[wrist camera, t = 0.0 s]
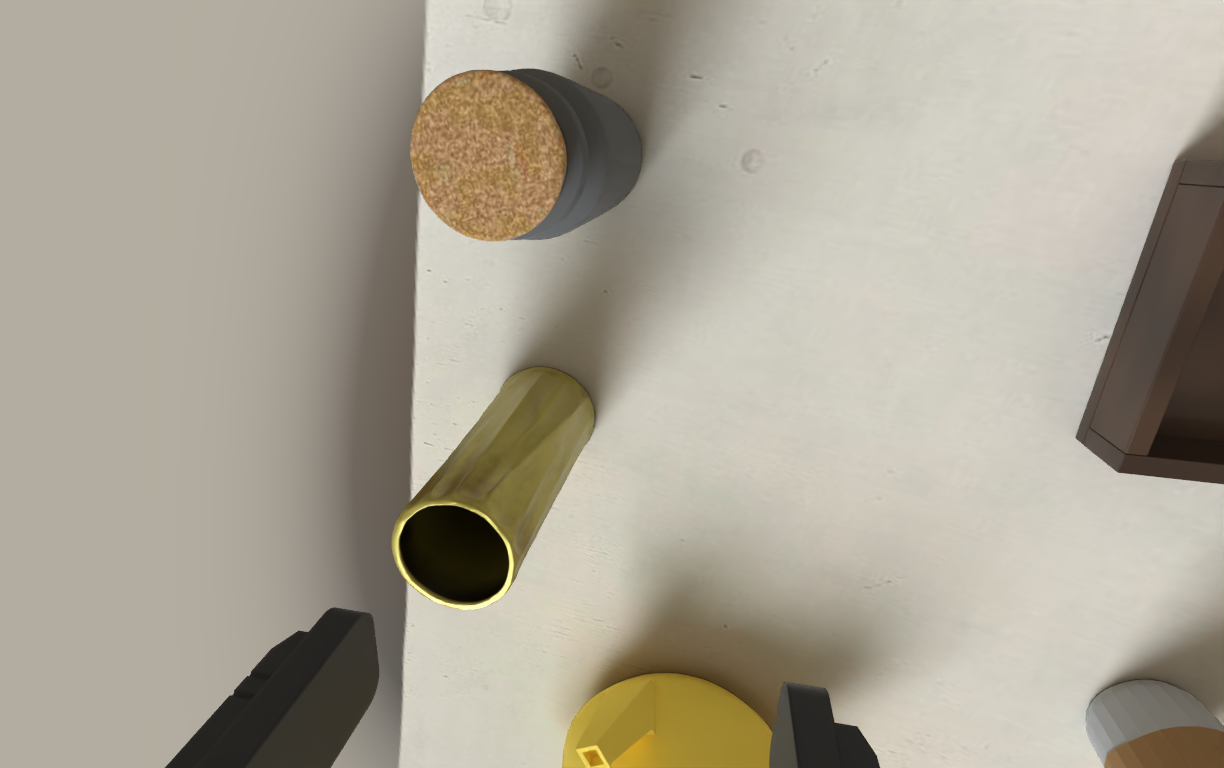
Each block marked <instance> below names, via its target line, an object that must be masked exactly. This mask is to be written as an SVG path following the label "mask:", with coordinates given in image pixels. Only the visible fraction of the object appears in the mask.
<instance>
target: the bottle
mask: <svg viewBox="0 0 1224 768" xmlns="http://www.w3.org/2000/svg"><path fill="white" fill-rule="evenodd" d="M410 150H411V162H412V168H413V174H414V177H415V180H416V183H417V185H418V187H419V190H420V192H421V194H422V196H423V198H424V200H425V201H426V203H427V204H428V206H429V207H430V208H431V209H432V210H433V212H434V213H435V214H436V215H437V216H438V217H439V218H440V219H441V220H442V221H443V222H444V223H446V224H447V225H448V226H449V227H451V228H452V229H454V230H455V231H457V232H459V233H461V234H463V235H465V236H468V237H471V238H474V239H478V240H484V241H506V240H521V239H529V240H541V239H550V238H553V237H557V236H560V235H563V234H565V233H567V232H570V231H572V230H574V229H576V228H578V227H579V226H581V225H583V224H585V223H587V222H589V221H591V220H592V219H594V218H596V217H598V216H600V215H602V214H604V213H605V212H607V211H608V210H610V209H612V208H613V207H615V206H616V205H618V204H619V203H620V202H621V201H623V200H624V199H625V198H626V196H627V195H628V194H629V193H630V191H631V190H632V189H633V187H634V185H635V183H636V181H637V179H638V176H639V173H640V169H641V163H642V147H641V141H640V137H639V134H638V131H637V129H636V127H635V125H634V123H633V121H632V120H631V118H630V117H629V116H628V114H627V113H626V112H625V111H624V110H623V109H622V108H621V107H620V106H619V105H618V104H616V103H615V102H613V101H611V100H610V99H608V98H606V97H605V96H603V95H601V94H599V93H597V92H594V91H592V90H590V89H588V88H586V87H584V86H582V85H580V84H578V83H576V82H574V81H572V80H569V79H567V78H564V77H562V76H559V75H557V74H555V73H552V72H548V71H543V70H539V69H517V70H511V71H493V70H471V71H467V72H463V73H460V74H457V75H455V76H452V77H450V78H448V79H447V80H445V81H444V82H443V83H441V84H440V85H438V86H437V87H436V88H435V89H434V90H433V91H432V92H431V93H430V94H429V96H428V97H427V98H426V99H425V101H424V102H423V104H422V106H421V107H420V109H419V112H418V114H417V117H416V119H415V122H414V125H413V131H412V135H411V146H410Z"/></svg>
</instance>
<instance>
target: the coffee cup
mask: <svg viewBox="0 0 1224 768" xmlns="http://www.w3.org/2000/svg"><path fill="white" fill-rule="evenodd" d="M1086 722H1087V727H1086V730H1087V733H1088V737H1089V740H1090V741H1091V743H1092V745H1093V747H1094V749H1095V751H1096V752H1097V754H1098V756H1099V758H1100V760H1101V762H1102V764H1103V765H1104V767H1105V768H1224V726H1223V725H1222V724H1221V723H1220V721H1219V720H1218V719H1217V718H1216V717H1215V716H1214V715H1213V714H1212V713H1211V712H1210V711H1209V710H1208V709H1207V708H1206V707H1205V706H1204V705H1203V704H1202V703H1201V702H1200V701H1199V700H1198V699H1196V698H1195V697H1193V696H1192V695H1191V694H1189V693H1188V692H1186V691H1183V690H1181V689H1179V688H1177V687H1176V686H1173V685H1171V684H1168V683H1166V682H1161V681H1155V680H1133V681H1127V682H1122V683H1119V684H1117V685H1114V686H1112V687H1109V688H1108V689H1106V690H1104V691H1103V692H1101V693H1100V694H1098V695H1097V696H1096V698H1095V699H1094V700H1093V701H1092V702H1091V703H1090V705H1089V707H1088V709H1087V713H1086Z"/></svg>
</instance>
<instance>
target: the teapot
mask: <svg viewBox="0 0 1224 768" xmlns="http://www.w3.org/2000/svg"><path fill="white" fill-rule="evenodd" d="M772 733H773V732H772V731H771V729H770V728H769V727H768V725H767V724H766V723H765V722H764V720H763V719H762V718H761V717H760V716H759V715H758V714H757V713H756V712H755V711H754V710H752V709H751V708H750V707H749V706H748V705H746V704H745V703H744V702H743V701H742V700H740V699H739V698H738V697H736V696H734V695H733V694H731V693H730V692H728V691H727V690H725V689H723V688H722V687H720V686H718V685H716V684H714V683H711V682H709V681H706V680H704V679H701V678H697V677H693V676H689V675H684V674H676V673H653V674H646V675H641V676H637V677H633V678H630V679H627V680H624V681H622V682H619V683H617V684H614V685H612V686H610V687H609V688H607V689H605V690H603V691H601V692H600V693H598V694H597V695H595V696H594V697H593V698H591V699H590V700H589V701H588V702H587V703H586V704H585V705H584V706H583V707H582V708H581V709H580V711H579V712H578V713H577V715H576V716H575V718H574V719H573V721H572V723H571V725H570V727H569V729H568V733H567V737H566V741H565V746H564V751H563V763H562V768H769V756H770V745H771V738H772Z"/></svg>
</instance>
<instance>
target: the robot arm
mask: <svg viewBox="0 0 1224 768" xmlns="http://www.w3.org/2000/svg"><path fill="white" fill-rule="evenodd" d="M378 680H379V663H378V655H377V646H376V637H375V629H374V621H373V617H372V615H371V614H370V613H365V612H359V611H352V610H346V609H340V608H331V609H329V610H328V611H326V612H325V614H324V615H323V616H322V617H321V618H320V619H319V620H318V622H317V623H316V624H315V625H314V626H313V627H312V629H311V630H310V631H309V632H303V631H298V632H296V633H295V634H293V635H292V636H290V637H289V638H287V639H286V640H284V641H283V642H281V643H280V644H278V645H276V646H275V647H273V648H272V649H271V650H270V651H269V652H268V653H267V654H266V656H265V657H264V658H263V659H262V660H261V661H260V662H259V663H258V665H257V666H256V667H255V668H254V669H253V670H252V671H251V675H250V676H247V677H246V678H245V679H244V680H243V681H242V682H241V683H240V685H239V686H238V687H237V688H236V689H235V690H234V694H233V695H232V696H229V697H228V698H227V699H226V700H225V701H224V702H223V704H222V705H221V706H220V707H219V708H218V709H217V710H216V711H215V712H214V714H213V715H212V716H211V717H210V718H209V719H208V720H207V721H206V723H205V724H204V725H203V726H202V727H201V728H200V729H199V730H198V731H197V733H196V734H195V735H194V736H193V737H192V738H191V739H190V741H189V742H188V743H187V744H186V745H185V746H184V747H183V748H182V749H181V750H180V752H179V753H178V754H177V755H176V756H175V757H174V758H173V759H172V761H171V762H170V763H169V764H168V765H167V766H166V767H165V768H331V766H332V765H333V763H334V761H335V760H336V758H337V757H338V755H339V753H340V752H341V750H342V749H343V747H344V745H345V744H346V742H347V741H348V739H349V737H350V736H351V734H352V733H353V731H354V730H355V728H356V726H357V725H358V723H359V722H360V720H361V718H362V717H363V715H364V714H365V712H366V710H367V709H368V707H369V705H370V704H371V702H372V700H373V697H374V695H375V692H376V689H377V685H378ZM769 768H880V766H879V763H878V759H877V755H876V754H875V752H874V751H873V749H872V748H871V746H870V745H869V743H868V742H867V740H866V739H865V737H864V736H863V734H862V733H861V731H860V730H859V728H858V727H857V726H851V725H845V724H839V723H834V718H833V713H832V708H831V703H830V698H829V694H828V692H827V690H826V689H825V688H819V687H813V686H807V685H800V684H794V683H788V682H784V683H783V685H782V688H781V693H780V698H779V703H778V708H777V713H776V718H775V723H774V728H773V733H772V738H771V745H770V756H769Z"/></svg>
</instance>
